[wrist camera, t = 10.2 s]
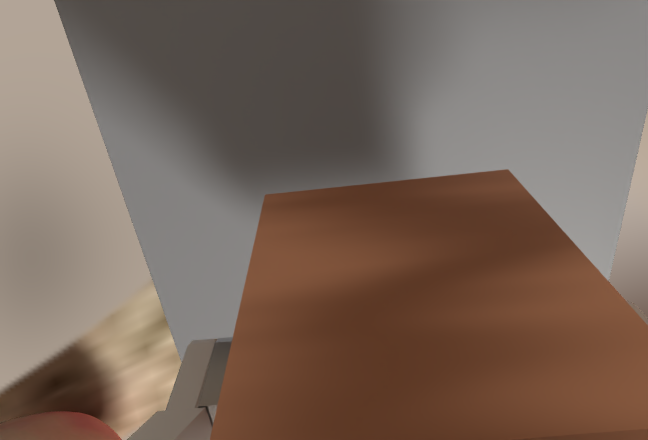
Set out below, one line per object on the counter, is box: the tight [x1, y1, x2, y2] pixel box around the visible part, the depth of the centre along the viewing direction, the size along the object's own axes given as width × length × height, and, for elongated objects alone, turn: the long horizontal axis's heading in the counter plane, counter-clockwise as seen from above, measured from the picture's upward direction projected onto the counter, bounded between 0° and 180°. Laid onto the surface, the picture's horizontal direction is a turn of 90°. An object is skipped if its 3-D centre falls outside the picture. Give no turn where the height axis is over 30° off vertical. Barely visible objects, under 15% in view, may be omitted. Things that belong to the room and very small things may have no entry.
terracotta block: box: [210, 169, 648, 440], centre depth 8 cm, size 5×5×6 cm
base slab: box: [54, 0, 648, 362], centre depth 16 cm, size 15×15×4 cm
